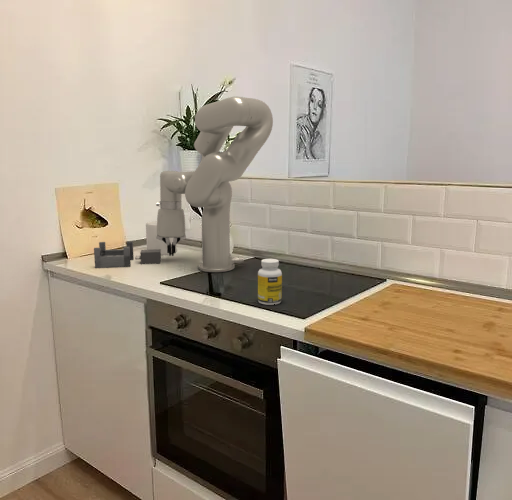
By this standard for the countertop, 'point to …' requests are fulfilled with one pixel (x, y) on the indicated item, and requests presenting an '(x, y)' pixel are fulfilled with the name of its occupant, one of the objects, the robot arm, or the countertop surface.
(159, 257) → the plug
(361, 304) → the countertop surface
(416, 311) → the countertop surface
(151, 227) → the cup
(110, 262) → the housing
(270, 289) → the pill bottle
